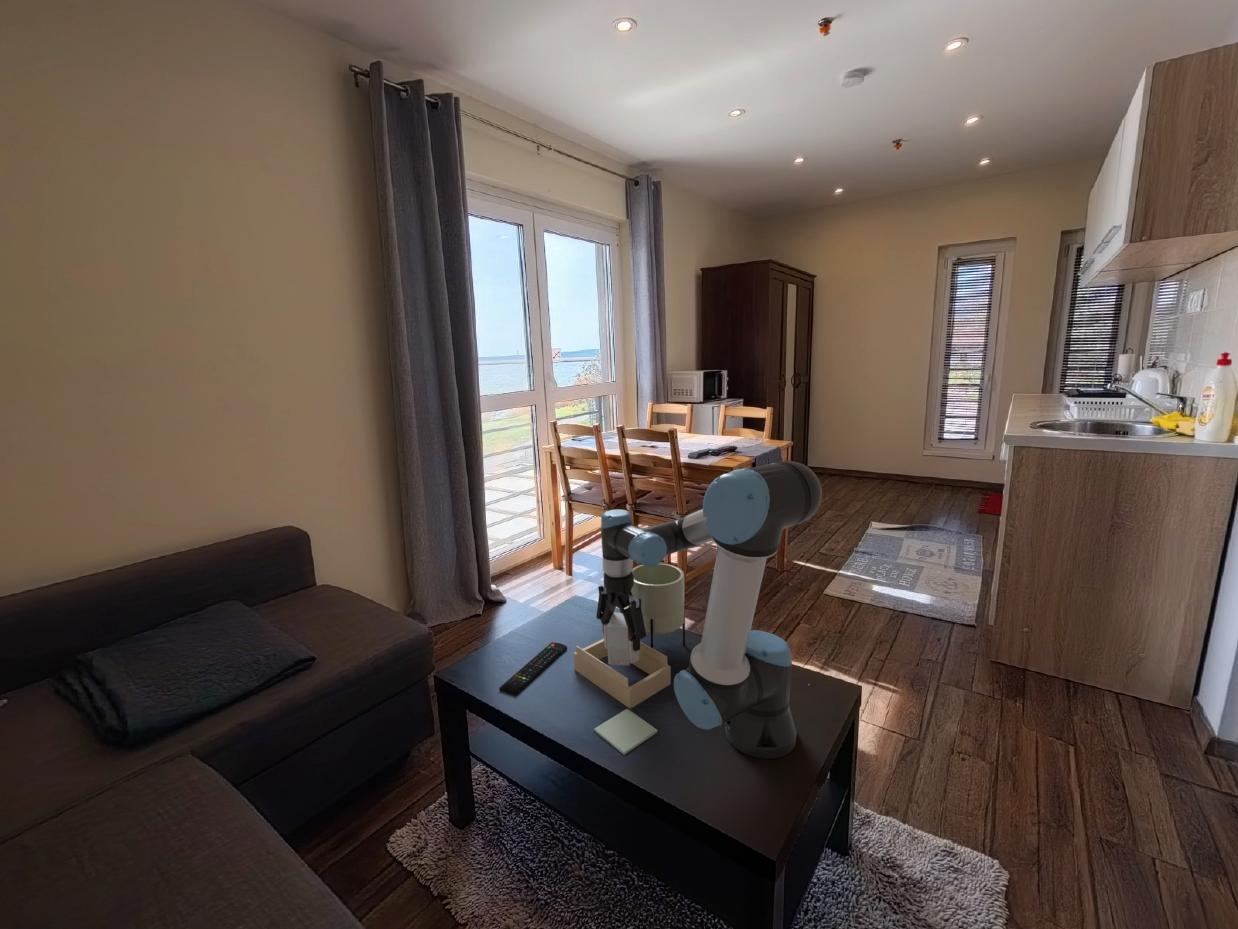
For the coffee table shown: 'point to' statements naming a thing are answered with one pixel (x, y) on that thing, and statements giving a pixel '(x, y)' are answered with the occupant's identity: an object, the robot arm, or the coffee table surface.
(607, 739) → the pad
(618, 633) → the small box
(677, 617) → the planter
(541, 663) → the remote control
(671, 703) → the coffee table surface
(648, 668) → the tray
